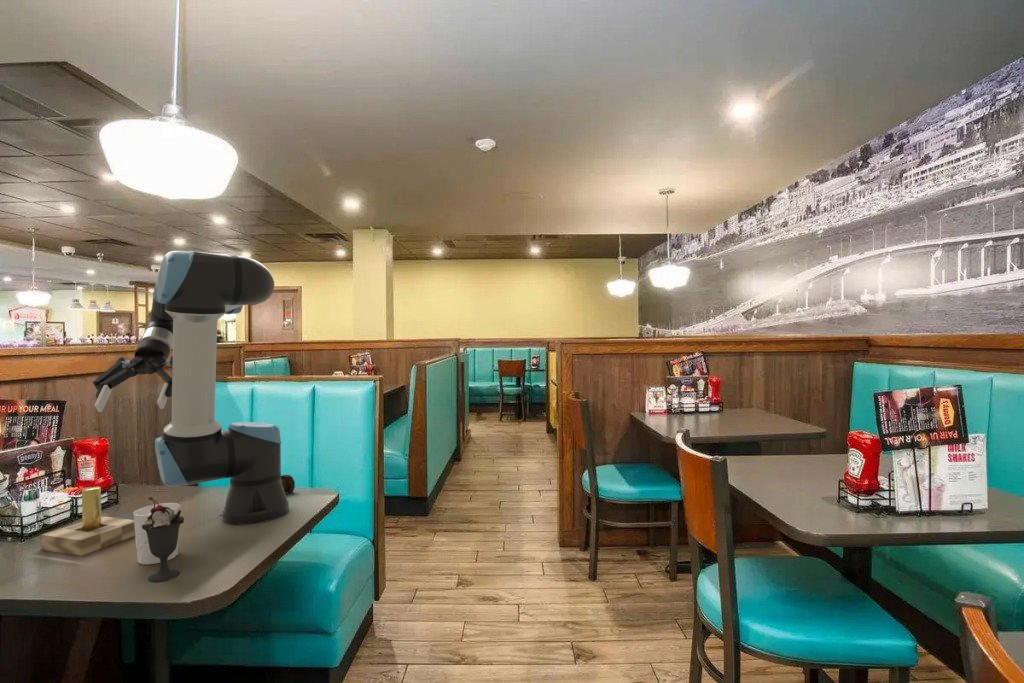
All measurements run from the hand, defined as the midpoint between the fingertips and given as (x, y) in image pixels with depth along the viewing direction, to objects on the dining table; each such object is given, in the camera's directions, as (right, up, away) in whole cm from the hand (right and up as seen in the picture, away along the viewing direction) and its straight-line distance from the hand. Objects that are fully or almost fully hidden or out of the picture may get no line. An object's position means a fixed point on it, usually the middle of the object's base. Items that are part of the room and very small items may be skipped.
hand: (129, 407), depth 129 cm
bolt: (+27, -28, +15) cm, 42 cm away
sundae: (+31, -28, -33) cm, 53 cm away
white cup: (+24, -28, -24) cm, 44 cm away
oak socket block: (+4, -28, -16) cm, 32 cm away
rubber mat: (0, -28, -2) cm, 28 cm away
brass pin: (+4, -28, -16) cm, 32 cm away
